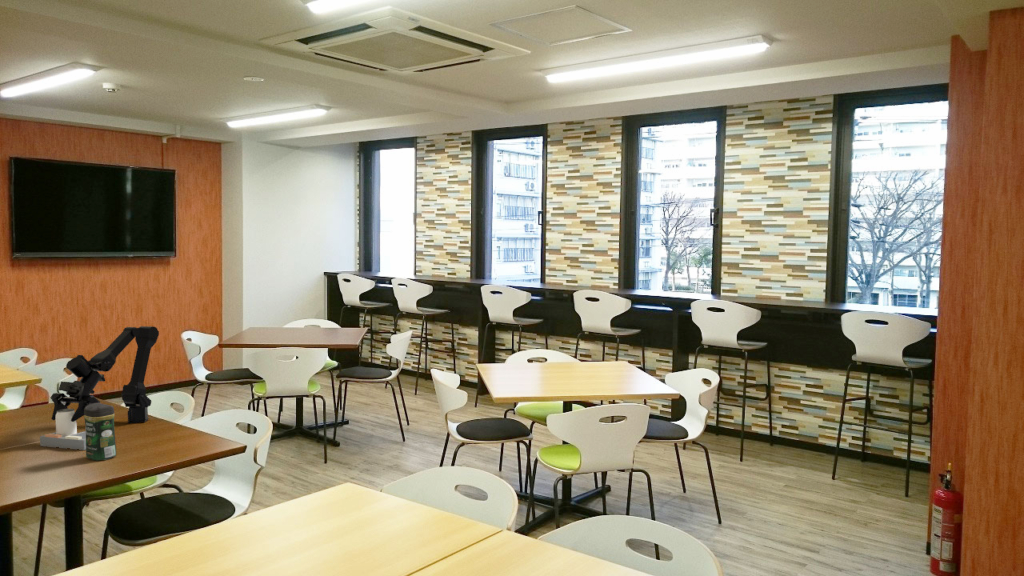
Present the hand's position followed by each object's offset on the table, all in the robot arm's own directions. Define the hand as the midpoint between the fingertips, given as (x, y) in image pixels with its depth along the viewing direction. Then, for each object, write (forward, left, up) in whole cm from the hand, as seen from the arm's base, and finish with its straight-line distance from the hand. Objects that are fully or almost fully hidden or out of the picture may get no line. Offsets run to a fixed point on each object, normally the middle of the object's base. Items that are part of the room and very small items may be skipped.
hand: (62, 420), depth 270 cm
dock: (-5, +1, -9) cm, 10 cm away
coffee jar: (-21, +22, -9) cm, 32 cm away
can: (-1, -1, -9) cm, 9 cm away
